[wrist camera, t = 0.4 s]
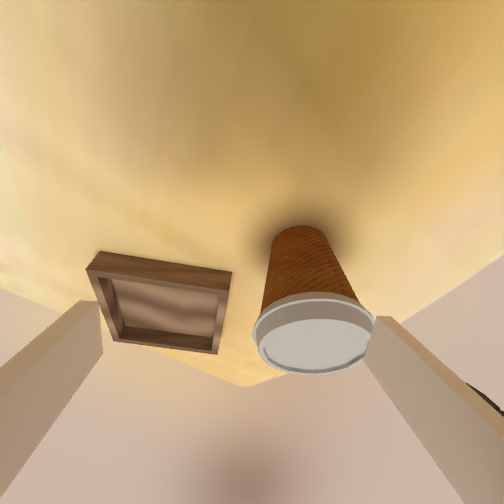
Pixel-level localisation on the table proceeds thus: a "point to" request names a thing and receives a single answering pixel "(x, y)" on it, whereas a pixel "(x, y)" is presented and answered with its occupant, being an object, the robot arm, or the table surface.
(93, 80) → the table surface
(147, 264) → the walnut tray
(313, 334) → the disposable coffee cup
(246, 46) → the table surface
